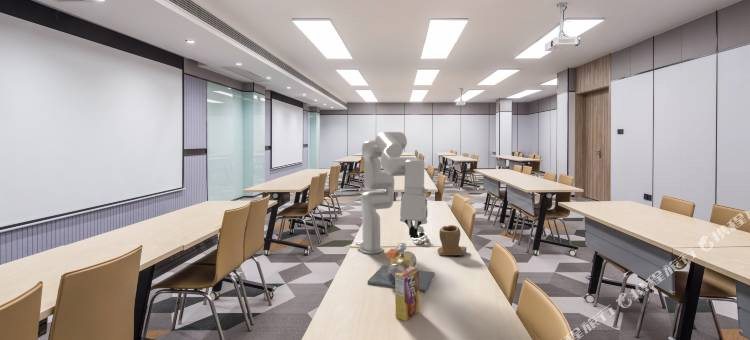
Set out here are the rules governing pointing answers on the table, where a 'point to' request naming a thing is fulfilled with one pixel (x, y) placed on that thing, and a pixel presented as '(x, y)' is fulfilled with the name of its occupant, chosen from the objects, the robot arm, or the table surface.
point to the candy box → (407, 293)
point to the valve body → (401, 262)
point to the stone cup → (450, 241)
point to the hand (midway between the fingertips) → (413, 237)
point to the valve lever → (396, 251)
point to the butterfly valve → (420, 236)
